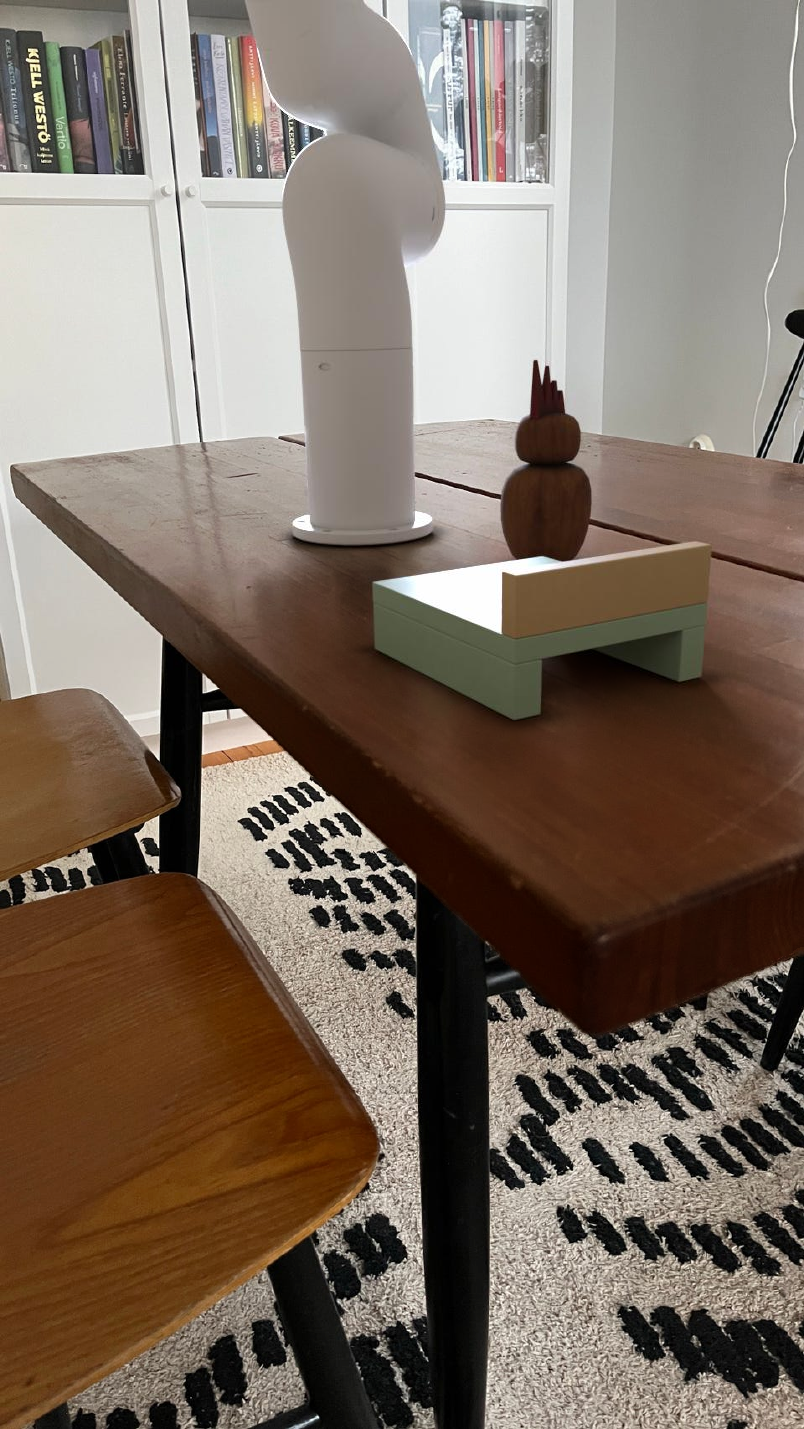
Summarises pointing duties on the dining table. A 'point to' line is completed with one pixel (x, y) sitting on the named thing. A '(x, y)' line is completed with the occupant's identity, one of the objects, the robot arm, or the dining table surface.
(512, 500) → the wooden figurine
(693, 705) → the dining table surface
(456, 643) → the shelf
